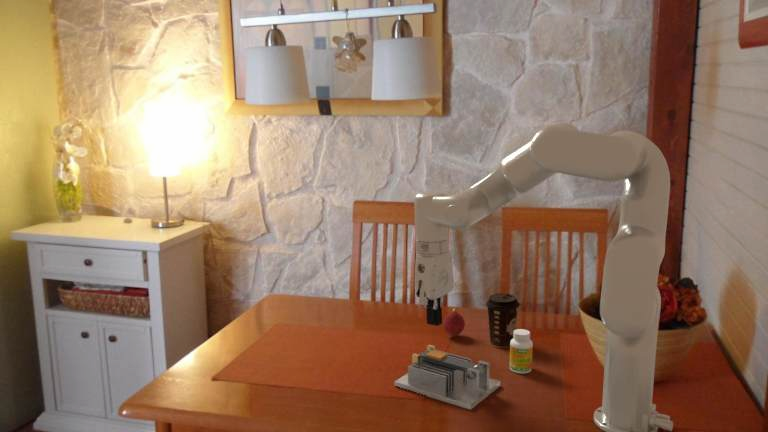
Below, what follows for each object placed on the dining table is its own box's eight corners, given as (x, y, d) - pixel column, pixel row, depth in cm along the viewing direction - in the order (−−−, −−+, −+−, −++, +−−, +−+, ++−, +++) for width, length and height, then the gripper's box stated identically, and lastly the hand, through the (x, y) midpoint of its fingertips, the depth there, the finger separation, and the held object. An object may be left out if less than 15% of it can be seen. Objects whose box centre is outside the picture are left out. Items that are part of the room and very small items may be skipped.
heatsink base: (500, 386, 159) (500, 356, 158) (470, 410, 148) (471, 378, 147) (427, 365, 171) (427, 337, 169) (394, 386, 160) (394, 356, 158)
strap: (486, 374, 154) (486, 364, 154) (479, 379, 152) (480, 369, 152) (425, 357, 164) (425, 347, 163) (418, 361, 161) (418, 351, 161)
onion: (465, 340, 186) (465, 312, 184) (444, 340, 186) (444, 312, 185) (463, 332, 192) (463, 305, 190) (442, 332, 192) (442, 305, 190)
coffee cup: (517, 338, 187) (518, 292, 185) (519, 350, 179) (521, 302, 177) (484, 337, 188) (485, 291, 186) (486, 349, 180) (487, 302, 178)
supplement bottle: (515, 375, 165) (516, 337, 163) (505, 366, 170) (506, 329, 168) (535, 372, 166) (537, 334, 164) (525, 363, 171) (526, 326, 169)
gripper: (428, 255, 147) (431, 337, 151) (463, 241, 159) (464, 317, 162) (399, 252, 151) (402, 331, 155) (435, 238, 163) (437, 311, 167)
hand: (434, 323), depth 159 cm, fingers closed
